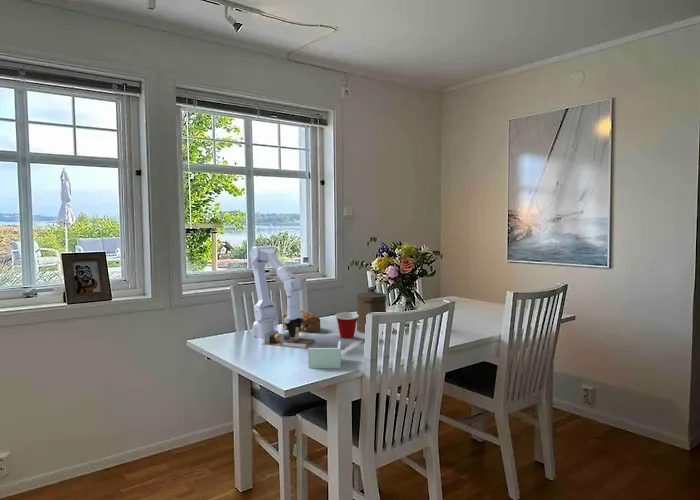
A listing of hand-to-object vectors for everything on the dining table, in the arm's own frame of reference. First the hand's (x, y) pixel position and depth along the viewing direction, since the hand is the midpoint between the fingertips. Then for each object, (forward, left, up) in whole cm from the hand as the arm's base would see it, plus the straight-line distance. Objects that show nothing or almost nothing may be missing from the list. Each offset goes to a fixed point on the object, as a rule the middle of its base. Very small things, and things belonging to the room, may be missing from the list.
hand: (294, 336), depth 219 cm
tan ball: (-8, 0, -3) cm, 9 cm away
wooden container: (+22, +42, -5) cm, 47 cm away
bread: (-12, +30, -5) cm, 32 cm away
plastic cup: (+18, +19, -5) cm, 26 cm away
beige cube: (-1, 0, -3) cm, 4 cm away
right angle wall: (+23, -17, -5) cm, 29 cm away
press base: (-2, 0, -5) cm, 6 cm away
